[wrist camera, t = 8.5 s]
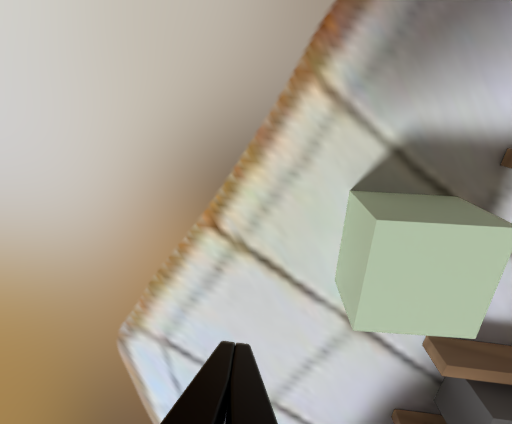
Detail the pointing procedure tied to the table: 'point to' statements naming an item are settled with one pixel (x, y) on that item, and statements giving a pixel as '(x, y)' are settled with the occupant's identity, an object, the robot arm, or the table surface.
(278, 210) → the table surface
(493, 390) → the slate grey cube
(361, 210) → the sage green block
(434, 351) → the walnut slot rack
